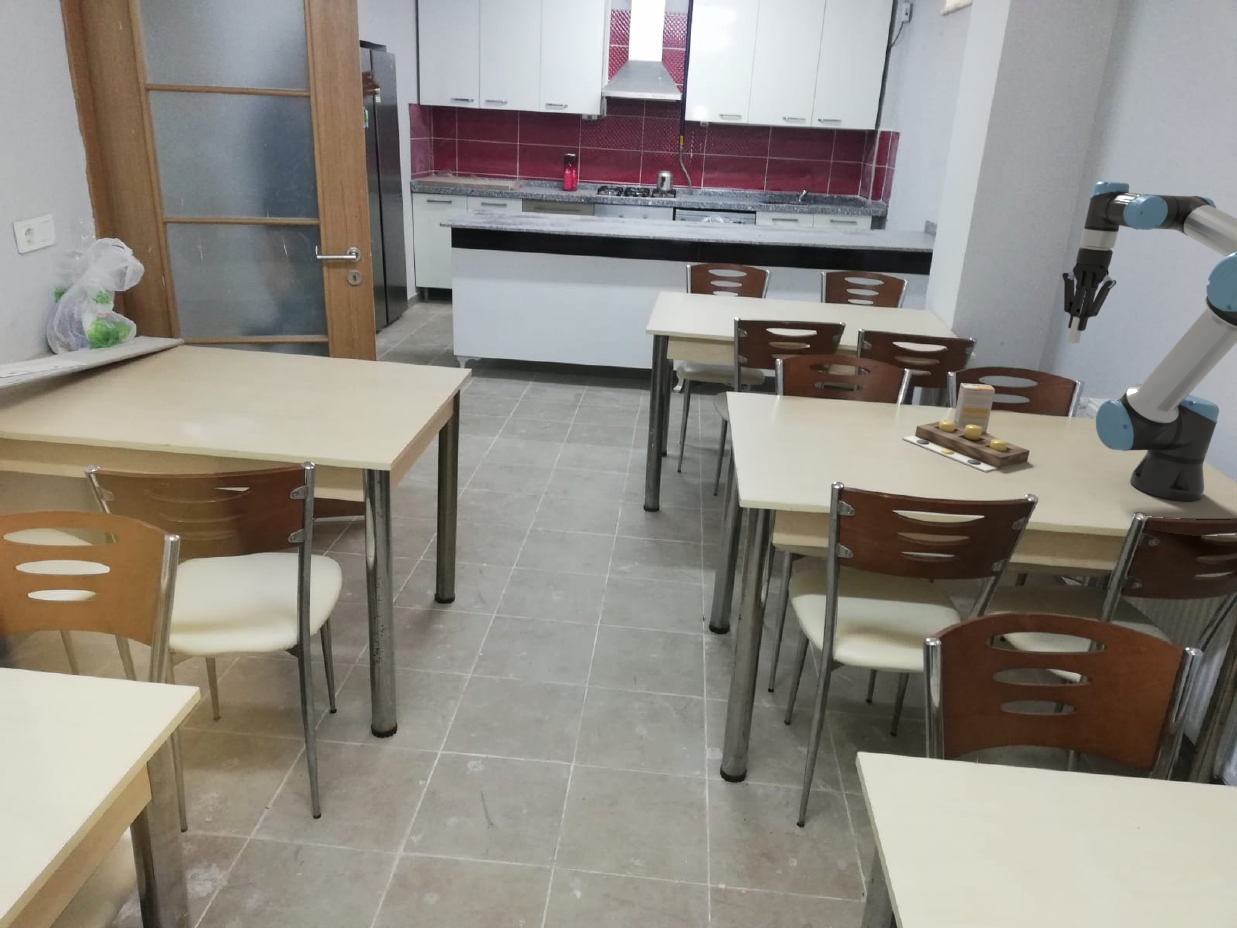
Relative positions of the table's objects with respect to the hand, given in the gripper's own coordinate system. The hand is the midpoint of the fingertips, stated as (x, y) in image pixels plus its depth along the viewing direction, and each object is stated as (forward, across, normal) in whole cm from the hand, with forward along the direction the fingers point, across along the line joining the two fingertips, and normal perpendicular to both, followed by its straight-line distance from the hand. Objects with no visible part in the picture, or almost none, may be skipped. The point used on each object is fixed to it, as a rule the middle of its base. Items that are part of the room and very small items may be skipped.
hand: (1073, 342), depth 222 cm
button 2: (+28, +2, +19) cm, 34 cm away
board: (+29, +10, +19) cm, 36 cm away
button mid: (+26, +10, +19) cm, 34 cm away
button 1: (+28, +18, +19) cm, 38 cm away
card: (+29, +10, +28) cm, 42 cm away
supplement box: (+30, +20, +6) cm, 36 cm away
